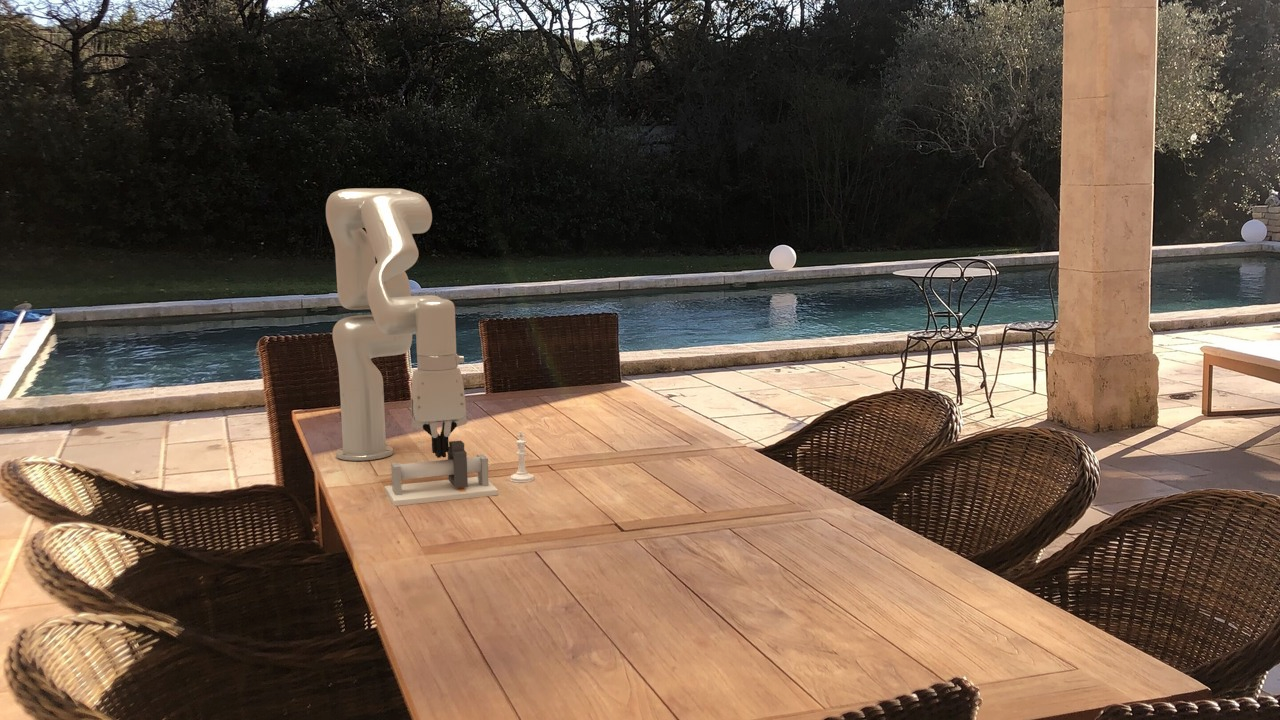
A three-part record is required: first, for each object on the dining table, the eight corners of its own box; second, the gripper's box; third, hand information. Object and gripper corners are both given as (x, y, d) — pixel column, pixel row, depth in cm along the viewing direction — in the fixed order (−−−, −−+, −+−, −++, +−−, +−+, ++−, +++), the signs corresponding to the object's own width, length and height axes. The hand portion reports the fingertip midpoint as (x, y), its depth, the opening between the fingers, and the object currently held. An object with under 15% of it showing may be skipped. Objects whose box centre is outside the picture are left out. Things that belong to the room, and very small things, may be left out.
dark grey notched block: (455, 487, 218) (454, 446, 216) (448, 479, 224) (447, 439, 223) (467, 486, 219) (466, 445, 217) (460, 478, 225) (459, 438, 224)
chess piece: (530, 483, 227) (528, 434, 226) (506, 482, 228) (505, 433, 227) (537, 477, 232) (536, 429, 231) (514, 476, 233) (513, 429, 232)
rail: (394, 506, 211) (392, 471, 210) (384, 491, 222) (383, 458, 221) (498, 494, 218) (497, 461, 217) (484, 480, 229) (482, 449, 228)
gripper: (471, 358, 223) (474, 448, 225) (394, 363, 218) (399, 455, 220) (479, 363, 216) (482, 456, 218) (400, 368, 211) (405, 463, 213)
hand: (440, 455), depth 219 cm, fingers closed
